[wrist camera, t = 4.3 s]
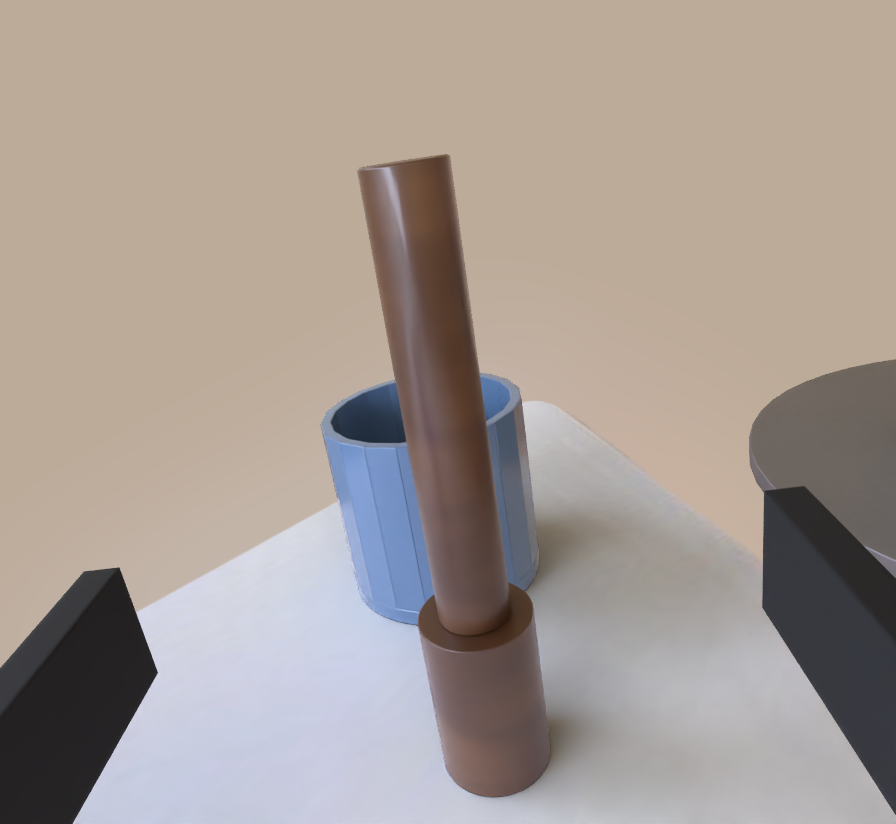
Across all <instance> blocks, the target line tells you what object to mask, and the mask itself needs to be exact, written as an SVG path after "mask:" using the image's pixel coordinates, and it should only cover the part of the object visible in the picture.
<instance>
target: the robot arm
mask: <svg viewBox="0 0 896 824" xmlns="http://www.w3.org/2000/svg"><path fill="white" fill-rule="evenodd" d="M763 538H764V539H763V599H762V608H763V609H764V611H765V612H766V614H767V615H768V617H769V618H770V620H771V622H772V623H773V625H774V626H775V628H776V629H777V631H778V632H779V634H780V636H781V637H782V639H783V640H784V642H785V643H786V645H787V646H788V648H789V650H790V651H791V653H792V654H793V656H794V657H795V659H796V660H797V662H798V664H799V665H800V667H801V668H802V670H803V671H804V673H805V674H806V676H807V678H808V679H809V681H810V682H811V684H812V685H813V687H814V688H815V690H816V692H817V693H818V695H819V696H820V698H821V699H822V701H823V702H824V704H825V706H826V707H827V709H828V710H829V712H830V713H831V715H832V716H833V718H834V720H835V721H836V723H837V724H838V726H839V727H840V729H841V730H842V732H843V734H844V735H845V737H846V738H847V740H848V741H849V743H850V744H851V746H852V748H853V749H854V751H855V752H856V754H857V755H858V757H859V759H860V760H861V762H862V763H863V765H864V766H865V768H866V769H867V771H868V773H869V774H870V776H871V777H872V779H873V780H874V782H875V783H876V785H877V787H878V788H879V790H880V791H881V793H882V794H883V796H884V797H885V799H886V801H887V802H888V804H889V805H890V807H891V808H892V810H893V811H894V813H895V815H896V578H895V577H894V576H893V575H892V574H891V573H890V572H889V571H888V570H887V569H886V568H885V567H884V566H883V565H882V564H881V563H880V562H879V561H878V560H877V559H876V558H875V557H874V556H873V555H872V554H871V553H870V552H869V551H868V550H867V549H866V548H865V547H864V546H863V545H862V544H861V543H860V542H859V541H858V540H857V539H856V538H855V537H854V536H853V535H852V534H851V533H850V531H849V530H848V529H847V528H846V527H845V526H844V525H843V524H842V523H841V522H840V521H839V520H838V519H837V518H836V517H835V516H834V515H833V514H832V513H831V512H830V511H829V510H828V509H827V508H826V507H825V506H824V505H823V504H822V503H821V502H820V501H819V500H818V499H817V498H816V497H815V496H814V495H813V494H812V493H811V492H810V491H809V490H808V489H807V488H806V487H805V486H799V487H790V488H782V489H774V490H765V491H764V536H763ZM157 673H158V672H157V669H156V666H155V664H154V661H153V658H152V655H151V653H150V650H149V647H148V644H147V642H146V639H145V636H144V633H143V631H142V628H141V625H140V623H139V620H138V617H137V614H136V612H135V609H134V606H133V603H132V601H131V598H130V595H129V593H128V590H127V587H126V584H125V582H124V579H123V576H122V573H121V571H120V568H111V569H103V570H94V571H86V572H83V574H82V575H81V576H80V577H79V578H78V579H77V580H76V582H75V583H74V584H73V585H72V586H71V587H70V589H69V590H68V591H67V592H66V593H65V594H64V595H63V597H62V598H61V599H60V600H59V601H58V602H57V604H56V605H55V606H54V607H53V608H52V609H51V610H50V612H49V613H48V614H47V615H46V616H45V617H44V618H43V620H42V621H41V622H40V623H39V624H38V625H37V627H36V628H35V629H34V630H33V631H32V632H31V634H30V635H29V636H28V637H27V638H26V639H25V640H24V641H23V643H22V644H21V645H20V646H19V647H18V648H17V650H16V651H15V652H14V653H13V654H12V655H11V656H10V658H9V659H8V660H7V661H6V662H5V663H4V665H3V666H2V667H1V668H0V824H73V822H74V820H75V818H76V817H77V815H78V813H79V811H80V810H81V808H82V806H83V804H84V802H85V801H86V799H87V797H88V795H89V794H90V792H91V790H92V788H93V787H94V785H95V783H96V781H97V780H98V778H99V776H100V774H101V772H102V771H103V769H104V767H105V765H106V764H107V762H108V760H109V758H110V757H111V755H112V753H113V751H114V749H115V748H116V746H117V744H118V742H119V741H120V739H121V737H122V735H123V734H124V732H125V730H126V728H127V726H128V725H129V723H130V721H131V719H132V718H133V716H134V714H135V712H136V711H137V709H138V707H139V705H140V704H141V702H142V700H143V698H144V696H145V695H146V693H147V691H148V689H149V688H150V686H151V684H152V682H153V681H154V679H155V677H156V675H157Z"/></svg>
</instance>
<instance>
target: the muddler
mask: <svg viewBox="0 0 896 824" xmlns="http://www.w3.org/2000/svg"><path fill="white" fill-rule="evenodd" d="M357 173H358V178H359V183H360V188H361V195H362V200H363V206H364V211H365V217H366V222H367V227H368V233H369V239H370V244H371V249H372V255H373V261H374V266H375V272H376V277H377V282H378V288H379V294H380V299H381V304H382V310H383V315H384V321H385V326H386V332H387V337H388V343H389V348H390V353H391V359H392V365H393V370H394V376H395V381H396V387H397V392H398V398H399V403H400V409H401V414H402V420H403V425H404V431H405V436H406V442H407V447H408V453H409V458H410V464H411V469H412V475H413V480H414V486H415V491H416V497H417V502H418V508H419V513H420V519H421V524H422V530H423V535H424V541H425V546H426V552H427V557H428V563H429V568H430V574H431V579H432V585H433V590H434V595H432V596H431V597H430V598H429V599H428V600H427V601H426V602H425V604H424V605H423V606H422V608H421V610H420V613H419V616H418V628H419V633H420V638H421V644H422V649H423V654H424V659H425V664H426V669H427V674H428V679H429V685H430V690H431V695H432V700H433V705H434V710H435V715H436V720H437V725H438V731H439V736H440V741H441V746H442V751H443V756H444V761H445V766H446V769H447V771H448V773H449V775H450V776H451V778H452V779H453V780H454V781H455V782H456V783H457V784H458V785H459V786H460V787H462V788H463V789H465V790H467V791H469V792H471V793H474V794H477V795H481V796H487V797H501V796H507V795H511V794H515V793H517V792H520V791H522V790H524V789H526V788H527V787H529V786H530V785H532V784H533V783H534V782H535V781H536V780H538V778H539V777H540V776H541V775H542V774H543V772H544V770H545V769H546V767H547V765H548V762H549V759H550V752H551V747H550V738H549V730H548V722H547V714H546V706H545V697H544V689H543V681H542V673H541V665H540V657H539V649H538V641H537V633H536V624H535V616H534V608H533V604H532V601H531V599H530V597H529V596H528V595H527V593H525V592H524V591H523V590H522V589H521V588H519V587H518V586H516V585H514V584H512V583H509V582H508V578H507V570H506V563H505V556H504V548H503V541H502V534H501V526H500V519H499V512H498V504H497V497H496V490H495V482H494V475H493V468H492V460H491V453H490V446H489V438H488V431H487V424H486V416H485V409H484V402H483V394H482V387H481V380H480V372H479V365H478V358H477V351H476V343H475V336H474V328H473V321H472V314H471V306H470V299H469V292H468V284H467V277H466V270H465V263H464V255H463V248H462V240H461V234H460V226H459V219H458V211H457V204H456V197H455V190H454V182H453V175H452V167H451V160H450V156H449V155H447V154H445V155H437V156H430V157H423V158H416V159H409V160H403V161H397V162H390V163H385V164H378V165H372V166H367V167H362V168H359V169H358V171H357Z"/></svg>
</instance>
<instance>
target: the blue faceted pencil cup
mask: <svg viewBox="0 0 896 824" xmlns="http://www.w3.org/2000/svg"><path fill="white" fill-rule="evenodd" d="M480 380H481V387H482V394H483V402H484V409H485V416H486V424H487V431H488V438H489V446H490V453H491V460H492V468H493V475H494V482H495V490H496V497H497V504H498V512H499V519H500V526H501V534H502V541H503V548H504V556H505V563H506V570H507V578H508V582H509V583H512V584H514V585H516V586H518V587H519V588H521V589H522V590H523V591H525V590H526V589H527V588H528V587H529V586H530V584H531V583H532V581H533V580H534V578H535V576H536V573H537V571H538V568H539V546H538V538H537V529H536V520H535V512H534V503H533V494H532V486H531V477H530V469H529V460H528V451H527V443H526V434H525V425H524V417H523V408H522V399H521V395H520V390H519V388H518V387H517V386H516V385H515V384H513V383H512V382H511V381H509V380H508V379H505V378H502V377H498V376H495V375H491V374H486V373H480ZM321 429H322V434H323V438H324V442H325V447H326V451H327V455H328V460H329V465H330V469H331V473H332V477H333V482H334V487H335V491H336V495H337V500H338V504H339V509H340V513H341V517H342V522H343V526H344V531H345V535H346V539H347V544H348V548H349V553H350V557H351V561H352V566H353V570H354V574H355V577H356V581H357V585H358V590H359V592H360V595H361V597H362V599H363V600H364V602H365V603H366V604H367V605H368V606H369V607H370V608H371V609H372V610H374V611H375V612H377V613H378V614H380V615H382V616H384V617H386V618H389V619H392V620H395V621H398V622H402V623H407V624H415V625H418V616H419V613H420V610H421V608H422V606H423V605H424V604H425V602H426V601H427V600H428V599H429V598H430V597H431V596H432V595H434V590H433V585H432V579H431V574H430V568H429V563H428V557H427V552H426V546H425V541H424V535H423V530H422V524H421V519H420V513H419V508H418V502H417V497H416V491H415V486H414V480H413V475H412V469H411V464H410V458H409V453H408V447H407V442H406V436H405V431H404V425H403V420H402V414H401V409H400V403H399V398H398V392H397V387H396V381H395V380H393V381H389V382H385V383H382V384H379V385H376V386H373V387H370V388H367V389H364V390H361V391H359V392H357V393H355V394H353V395H351V396H349V397H348V398H345V399H343V400H341V401H340V402H338V403H337V404H336V405H335V406H333V407H332V408H331V409H330V410H329V411H327V413H326V414H325V416H324V418H323V420H322V422H321Z"/></svg>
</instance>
